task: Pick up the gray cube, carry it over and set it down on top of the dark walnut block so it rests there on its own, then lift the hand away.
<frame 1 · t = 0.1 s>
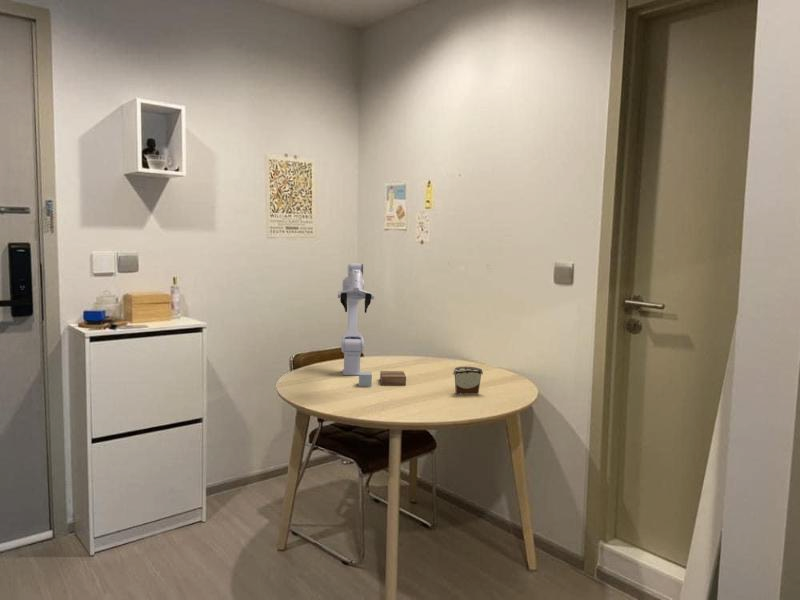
hand: (356, 310, 236), 32 cm above the table, tool tilted 50°, fingers open, 7 cm apart
gray cube: (365, 385, 248), on the table
walnut block: (392, 383, 254), on the table
food container: (464, 392, 242), on the table
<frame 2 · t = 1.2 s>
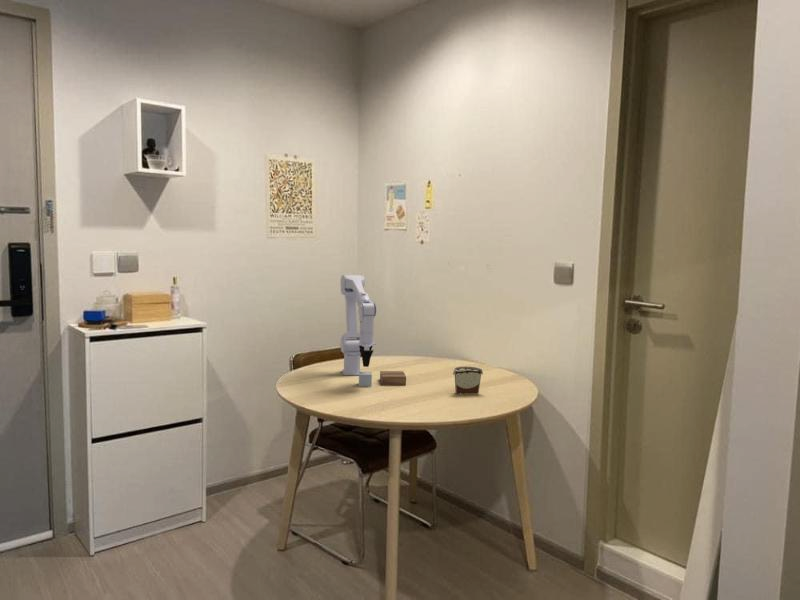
hand: (365, 364, 246), 9 cm above the table, tool pointing down, fingers open, 7 cm apart
nothing on the table moved.
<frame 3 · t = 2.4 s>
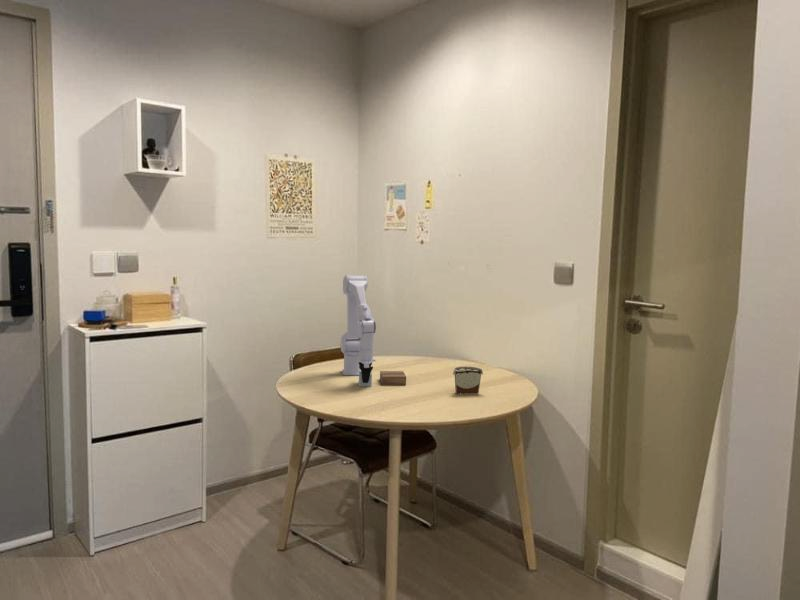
hand: (365, 381, 247), 2 cm above the table, tool pointing down, fingers closed on gray cube, 5 cm apart
gray cube: (365, 384, 248), on the table, touching gripper
everything else where it was.
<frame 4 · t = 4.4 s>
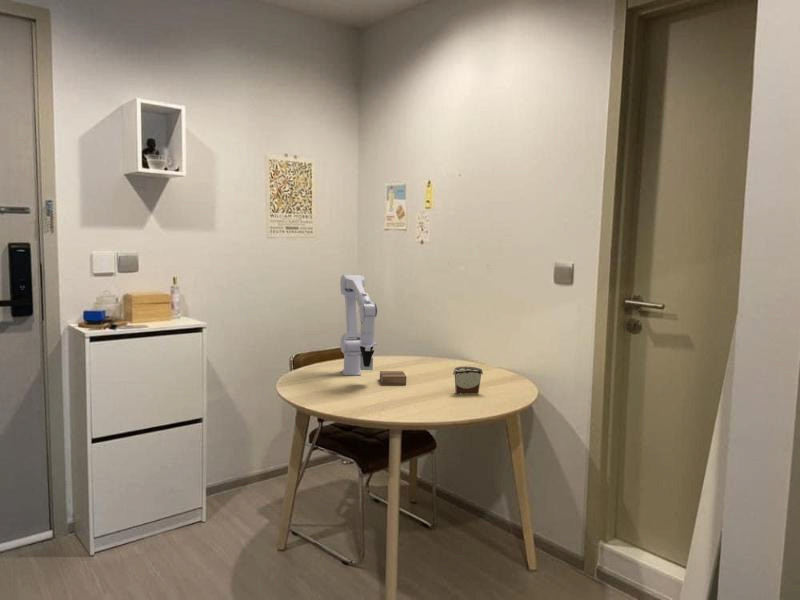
hand: (366, 364, 247), 8 cm above the table, tool pointing down, fingers closed on gray cube, 5 cm apart
gray cube: (366, 368, 247), point 7 cm above the table, touching gripper
everything else where it was.
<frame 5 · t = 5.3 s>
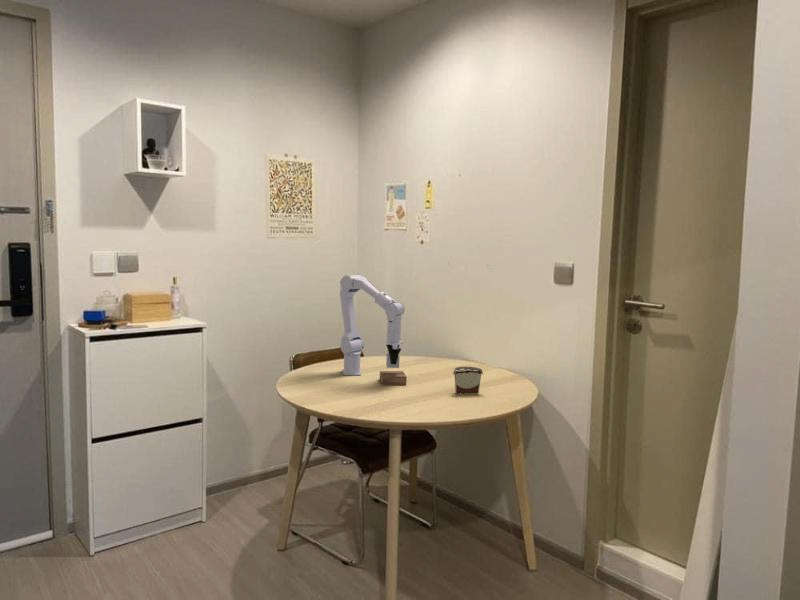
hand: (392, 362, 253), 8 cm above the table, tool pointing down, fingers closed on gray cube, 5 cm apart
gray cube: (392, 366, 253), point 7 cm above the table, touching gripper
everything else where it was.
when the fingers open (7 cm above the table, at t = 6.2 s): gray cube drops 2 cm, resting on walnut block.
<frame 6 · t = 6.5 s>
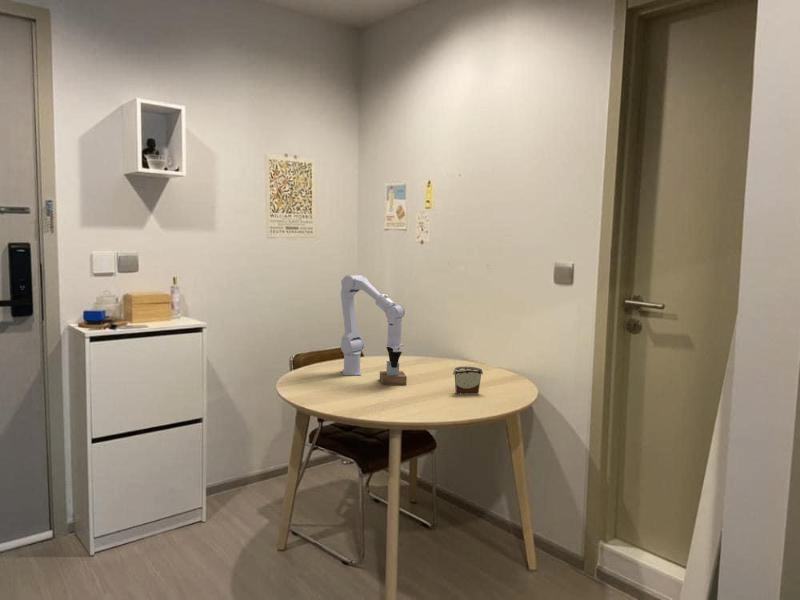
hand: (393, 365, 253), 7 cm above the table, tool pointing down, fingers open, 7 cm apart
gray cube: (392, 374, 253), point 4 cm above the table, touching walnut block
walnut block: (392, 383, 254), on the table, touching gray cube
everything else where it was.
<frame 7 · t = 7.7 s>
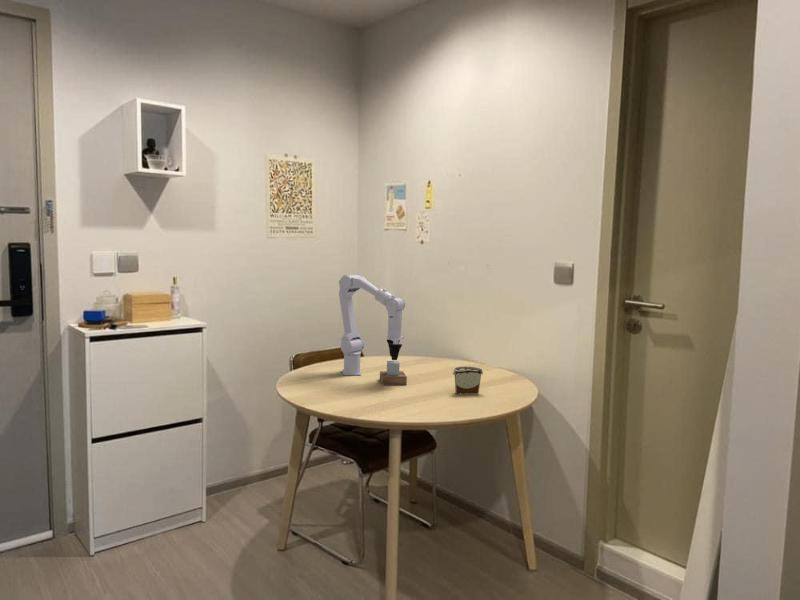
hand: (393, 358, 253), 10 cm above the table, tool pointing down, fingers open, 7 cm apart
nothing on the table moved.
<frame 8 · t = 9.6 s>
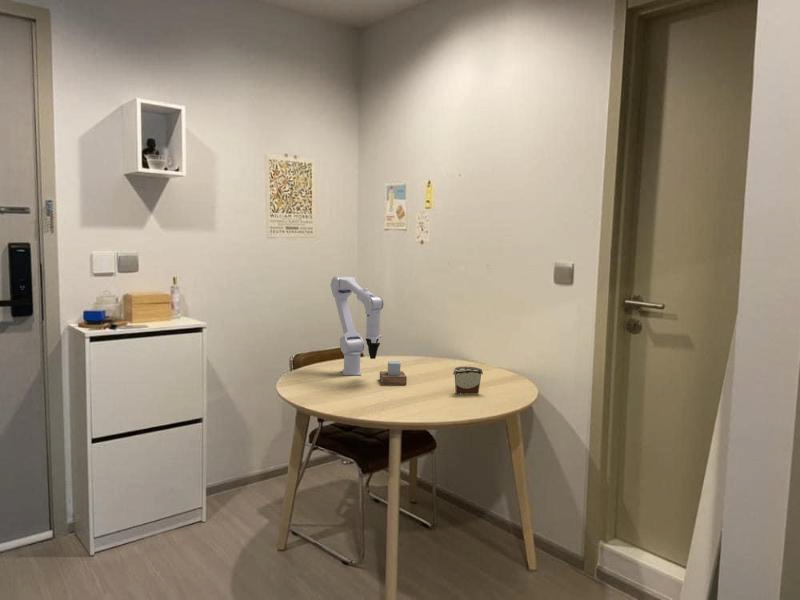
hand: (372, 356, 254), 10 cm above the table, tool pointing down, fingers open, 7 cm apart
nothing on the table moved.
at the end: gray cube inside the target area on the walnut block (0.4 cm from its centre), point 4.0 cm above the walnut block's base; gray cube tilted 0°; the gripper is holding nothing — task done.
